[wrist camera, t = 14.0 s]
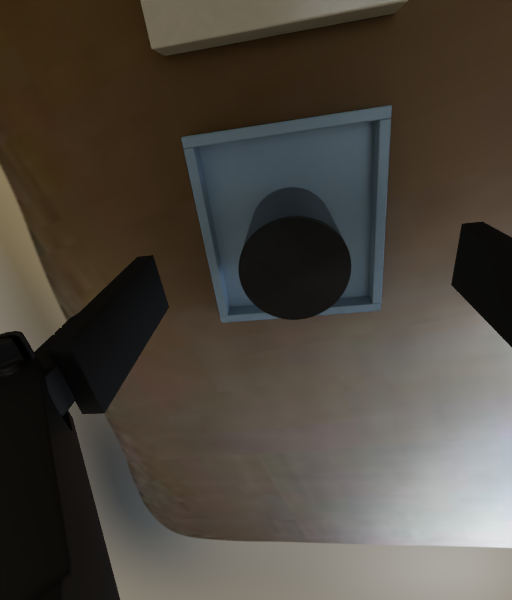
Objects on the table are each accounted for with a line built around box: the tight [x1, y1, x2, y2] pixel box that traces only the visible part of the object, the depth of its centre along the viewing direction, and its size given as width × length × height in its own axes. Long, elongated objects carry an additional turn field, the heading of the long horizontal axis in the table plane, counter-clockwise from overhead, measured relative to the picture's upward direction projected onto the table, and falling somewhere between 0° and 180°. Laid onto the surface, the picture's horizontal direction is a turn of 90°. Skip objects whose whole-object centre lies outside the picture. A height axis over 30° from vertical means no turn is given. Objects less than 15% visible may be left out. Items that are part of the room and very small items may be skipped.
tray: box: [181, 105, 392, 323], centre depth 21 cm, size 12×11×2 cm
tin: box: [238, 187, 352, 320], centre depth 18 cm, size 5×5×7 cm
